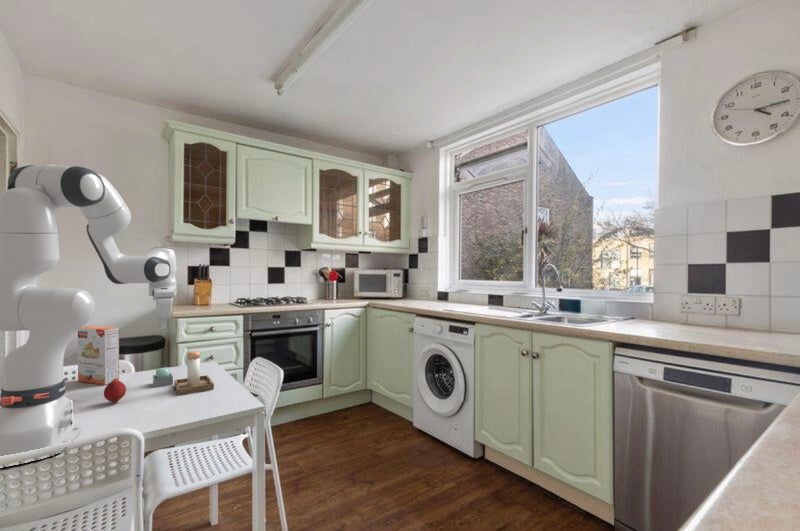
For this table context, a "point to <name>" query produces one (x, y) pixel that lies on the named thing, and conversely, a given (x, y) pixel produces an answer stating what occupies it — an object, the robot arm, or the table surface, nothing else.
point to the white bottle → (193, 368)
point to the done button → (162, 372)
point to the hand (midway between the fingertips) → (162, 327)
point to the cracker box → (98, 354)
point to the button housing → (162, 381)
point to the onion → (114, 391)
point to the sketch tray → (184, 389)
